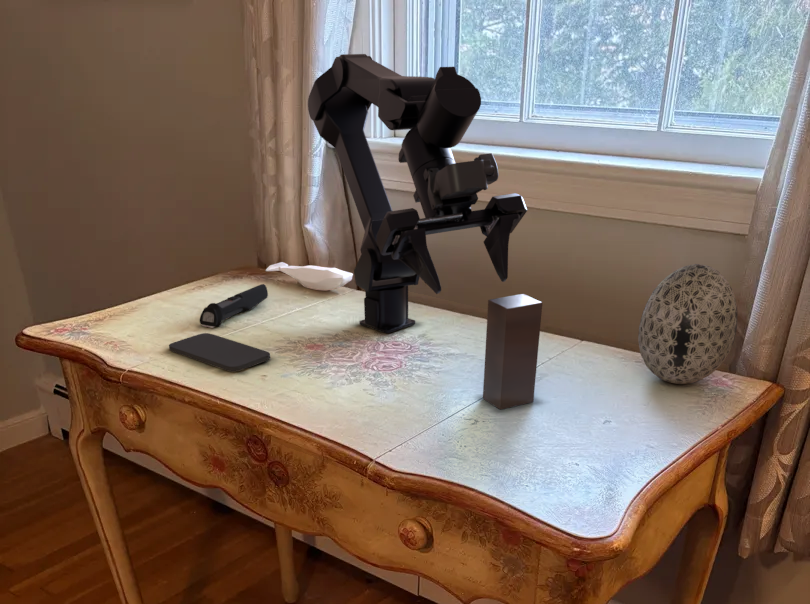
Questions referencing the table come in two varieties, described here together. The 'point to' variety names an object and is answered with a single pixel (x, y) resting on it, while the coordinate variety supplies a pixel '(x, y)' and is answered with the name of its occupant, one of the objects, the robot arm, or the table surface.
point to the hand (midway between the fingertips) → (472, 286)
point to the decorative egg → (688, 325)
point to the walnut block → (511, 350)
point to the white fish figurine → (314, 275)
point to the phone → (219, 352)
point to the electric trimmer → (232, 306)
